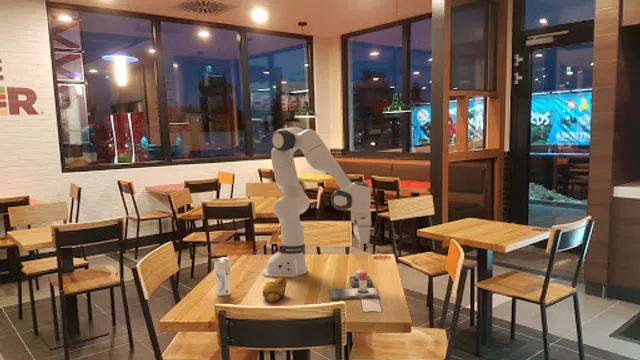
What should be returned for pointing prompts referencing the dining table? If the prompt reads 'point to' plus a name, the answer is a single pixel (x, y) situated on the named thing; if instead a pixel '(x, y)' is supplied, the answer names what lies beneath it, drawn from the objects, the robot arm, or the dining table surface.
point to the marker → (363, 282)
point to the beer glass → (222, 276)
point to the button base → (356, 284)
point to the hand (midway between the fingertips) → (360, 248)
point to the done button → (358, 274)
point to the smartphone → (371, 305)
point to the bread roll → (275, 289)
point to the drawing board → (353, 293)
